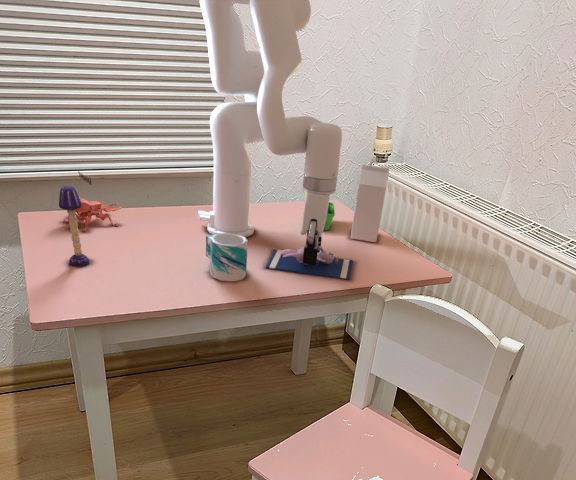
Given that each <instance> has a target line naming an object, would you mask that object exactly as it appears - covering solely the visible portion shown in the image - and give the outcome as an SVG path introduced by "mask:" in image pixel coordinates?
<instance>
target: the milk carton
mask: <svg viewBox="0 0 576 480" xmlns="http://www.w3.org/2000/svg"><path fill="white" fill-rule="evenodd" d="M389 173H390V168H388V167H382V166H374V165H367V164H362V165H361V170H360V176H359V180H358V186H357V193H356V199H355V206H354V213H353V219H352V226H351V233H350V239H352V240H357V241H364V242H370V243H371V242H372V243H377V241H378V237H379V236H378V235H379V231H380V224H381V218H382V214H383V207H384V201H385V196H386V192H387V191H386V190H387V187H388V186H387V185H388V178H389Z"/></svg>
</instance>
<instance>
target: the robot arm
mask: <svg viewBox="0 0 576 480" xmlns="http://www.w3.org/2000/svg"><path fill="white" fill-rule="evenodd" d="M199 4H200V9H201V12H202V17H203V21H204V25H205V32H206V41H207V49H208V50H207V51H208V59H209V67H210V69H209V70H210V76H211V82H212V87H213V88H214V90H215V92H216V93H217V94H219V95H222V96H227V97H237V96H239V97H240V96H241V97H242V96H244V101H230V102H225V103H221V104H219V105H218V106H216V107H215V108H214V109H213V110H212V112H211V115H210V118H209V129H210V135H211V140H212V141H211V142H212V149H213V151H212V152H213V182H212V183H213V184H212V185H213V186H212V187H213V189H212V191H213V193H212V195H213V196H212V211H211V210H210V211H209V212H208V211H205V210H198V211H197V218H198V219H199V221H203V222H208V223H207V225H206V230H207V232H208V233H209V234H210V235H213V234H222V233H231V234H238V235H241V236H244V237H245V238H247V237H250V236H252V235H253V234H254V232H255V227H254V225H252V224H251V223H249V220H250V219H249V217H250V201H251V200H250V199H251V177H252V162H251V156H250V155H249V152H248V149H247V147H246V145H248V144H254V143H261V142H264V143H265V145H266V148H267V149H268V150H269V151H270V152H272V154H274V155H276V156H287V155H288V156H289V155H290V156H291V155H295V154H305V161H304V169H303V179H302V180H303V181H302V190H303V191H304V192H305V191H306V192H307V193H306V198H305V197H304V204H303V212H302V213H303V214H302V223H301V230H300V235H301V236H305V235H306V237H305V244H304V246H303V248H304V255H303V263H304V264H310V265H316V262H317V255H318V254H319V253H320V252H321V251H318V248H317V244H318V242H320V243H319V244H318V246H320V247H322V239H323V236H322V235H323V233H324V231H325V230H324V226H325V222H326V218H327V212H328V205H329V202H330V197H331V195H334V194H335V193H336V191H337V183H338V175H339V167H340V161H341V160H340V158H341V151H342V144H343V129H342V127H340V126H339V125H337V124H334V123H327V122H323V121H321V120H319V119H317V118H315V117H313V116H308V115H301V116H290V117H289V116H288V117H286V115H285V109H284V104H283V89H284V87H285V84H286V82H287V81H288V79H289V77H291V75H292V74H294V73H295V72H297V71H298V70H299V69H300V68H301V66H302V63H303V58H302V54H301V53H302V52H301V49H300V45H299V44H300V43H299V40H298V36H297V32H299V31H302V30H303V29H305V28H306V27H307V25H308V23H309V22H310V18H311V14H312V8H311V7H312V6H311V2H310V0H199ZM235 4H241V5H249V9H250V15H251V20H252V24H253V29H254V33H255V36H256V42H257V45H258V50H259V51H255V50H246V46H245V35H244V34H245V33H244V28H243V24H242V22H241V19H240V17H239V15H238V13H237V11H236V9H235V8H234V5H235Z"/></svg>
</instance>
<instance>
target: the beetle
mask: <svg viewBox="0 0 576 480" xmlns="http://www.w3.org/2000/svg"><path fill="white" fill-rule="evenodd" d="M77 173H78V176H79V178H81V179H82V180H83V181H84V182H86V183H88V184H89V185H90V186H92V178H91V177H87V176H86V175H84V174H83V173H81V172H80V171H79V170H77ZM79 198H80V201H81V203H82V207H81V208H78V209H75V210H76V213H75V215H76V217H77V220H76V221H77V222H81V223H83V222H84V221H85V222H84V224H85V225H84V227H85V228H83V229H82V232H84V233H87V232H88V224H90V223H91V221H92V217H93V216H95V218H97V219H100V220H101V221H105V220H106V218H108V220H109V222H110V223H111V226H116V227H118V226H119V223H118V222H116V223H114V222H113V220H112V218H111V216H110V212H117V211H119V210H121V209H122V208H123V206H122V205H120V206H118V205H119V203H118V202H117V203H111V204H105V203H101V202H99V201H96V200H93V201H89V200H87V199H85V198H82V197H79ZM113 206H117V207H114V208H113ZM104 212H105V213H104ZM69 222H70V221H69V220H66V219H63V222H62V224H67V223H68V224H69ZM70 229H71V228H70V227H69V230H70Z"/></svg>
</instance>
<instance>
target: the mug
mask: <svg viewBox="0 0 576 480" xmlns="http://www.w3.org/2000/svg"><path fill="white" fill-rule="evenodd" d="M248 243H249V241H248V239H247V237H244V236H241V235H238V234H231V233H222V234H207V235H205V257H207V258H208V259H210V260H209V261H210V265H209V266H210V267H209V268H210V269H209V273H210V275H211V277H212V278H213V279H216V280H218V281H221V282H237V281H241V280H243V279H244V278H245V277H247V266H248V245H249V244H248Z"/></svg>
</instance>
